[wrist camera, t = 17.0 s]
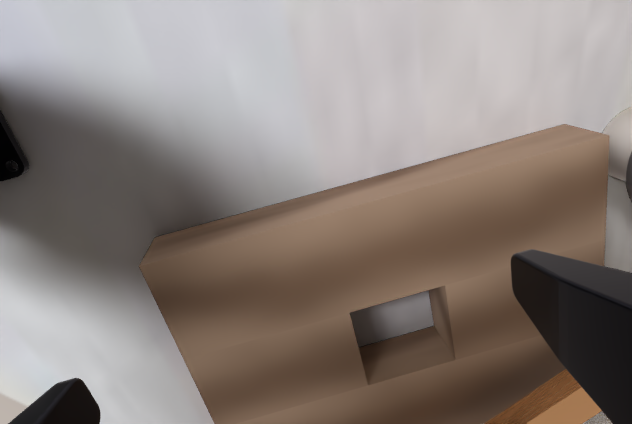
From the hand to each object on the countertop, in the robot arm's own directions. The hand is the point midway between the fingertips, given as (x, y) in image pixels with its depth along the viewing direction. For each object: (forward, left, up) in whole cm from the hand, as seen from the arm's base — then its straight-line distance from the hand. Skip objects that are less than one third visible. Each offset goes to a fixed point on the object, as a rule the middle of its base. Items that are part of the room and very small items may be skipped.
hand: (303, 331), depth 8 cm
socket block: (+10, +4, -13) cm, 17 cm away
